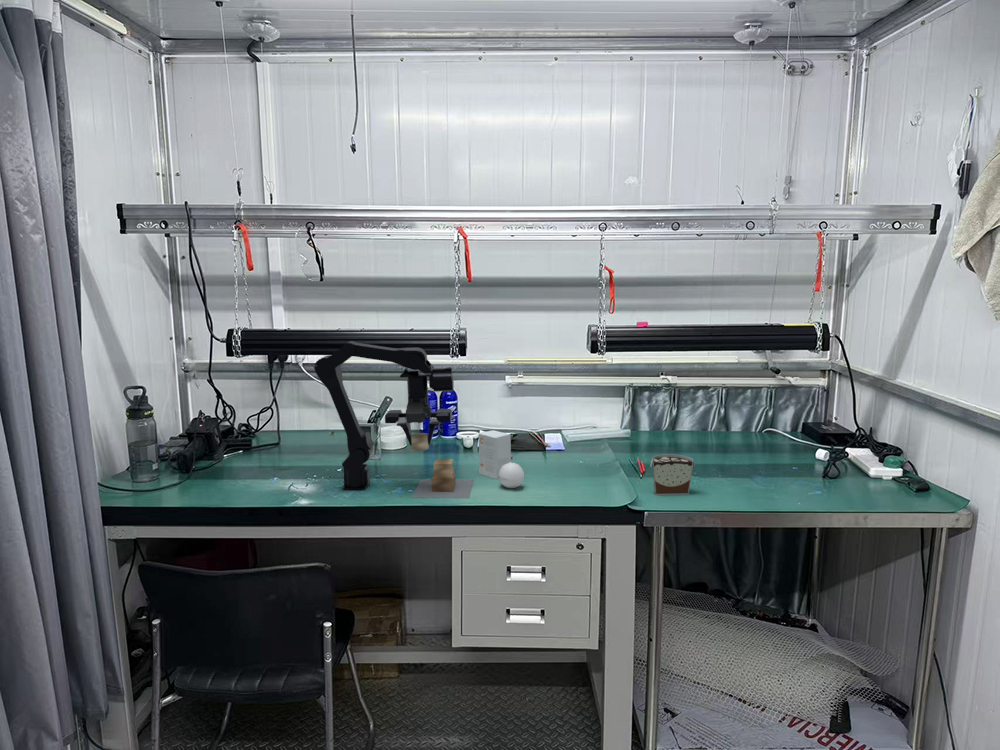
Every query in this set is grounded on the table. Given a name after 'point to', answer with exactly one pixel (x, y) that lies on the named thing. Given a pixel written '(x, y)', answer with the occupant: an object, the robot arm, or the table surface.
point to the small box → (493, 452)
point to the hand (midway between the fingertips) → (420, 445)
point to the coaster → (460, 491)
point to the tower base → (443, 484)
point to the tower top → (443, 468)
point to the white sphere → (511, 475)
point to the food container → (672, 474)
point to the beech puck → (419, 441)
